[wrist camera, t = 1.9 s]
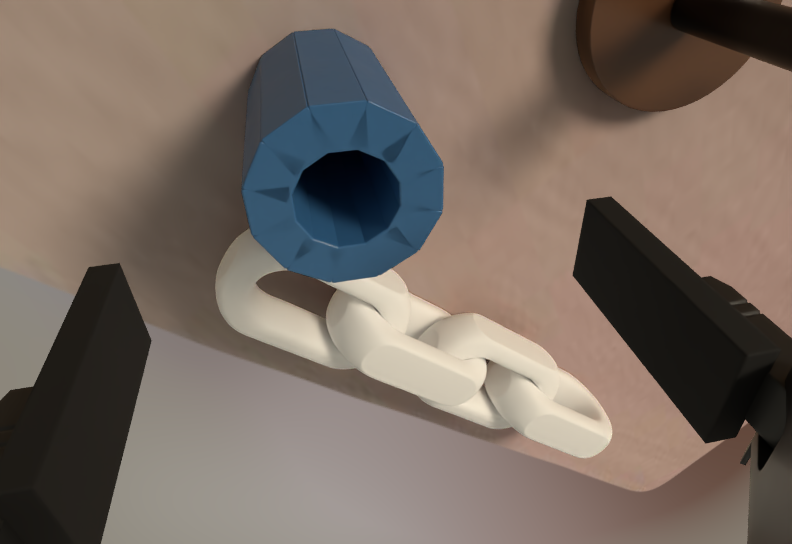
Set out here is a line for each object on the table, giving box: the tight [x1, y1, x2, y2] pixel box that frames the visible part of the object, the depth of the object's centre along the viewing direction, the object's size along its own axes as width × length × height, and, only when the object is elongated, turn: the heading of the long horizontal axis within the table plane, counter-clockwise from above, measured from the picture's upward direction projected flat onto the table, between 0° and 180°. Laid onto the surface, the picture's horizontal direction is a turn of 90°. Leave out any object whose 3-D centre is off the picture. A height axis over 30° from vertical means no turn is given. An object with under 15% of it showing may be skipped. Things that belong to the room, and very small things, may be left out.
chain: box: [215, 228, 612, 458], centre depth 34 cm, size 30×6×6 cm, turn 53°
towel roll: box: [241, 29, 444, 283], centre depth 22 cm, size 7×7×10 cm
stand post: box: [671, 0, 792, 72], centre depth 22 cm, size 2×2×10 cm
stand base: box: [576, 0, 782, 112], centre depth 26 cm, size 10×10×2 cm
